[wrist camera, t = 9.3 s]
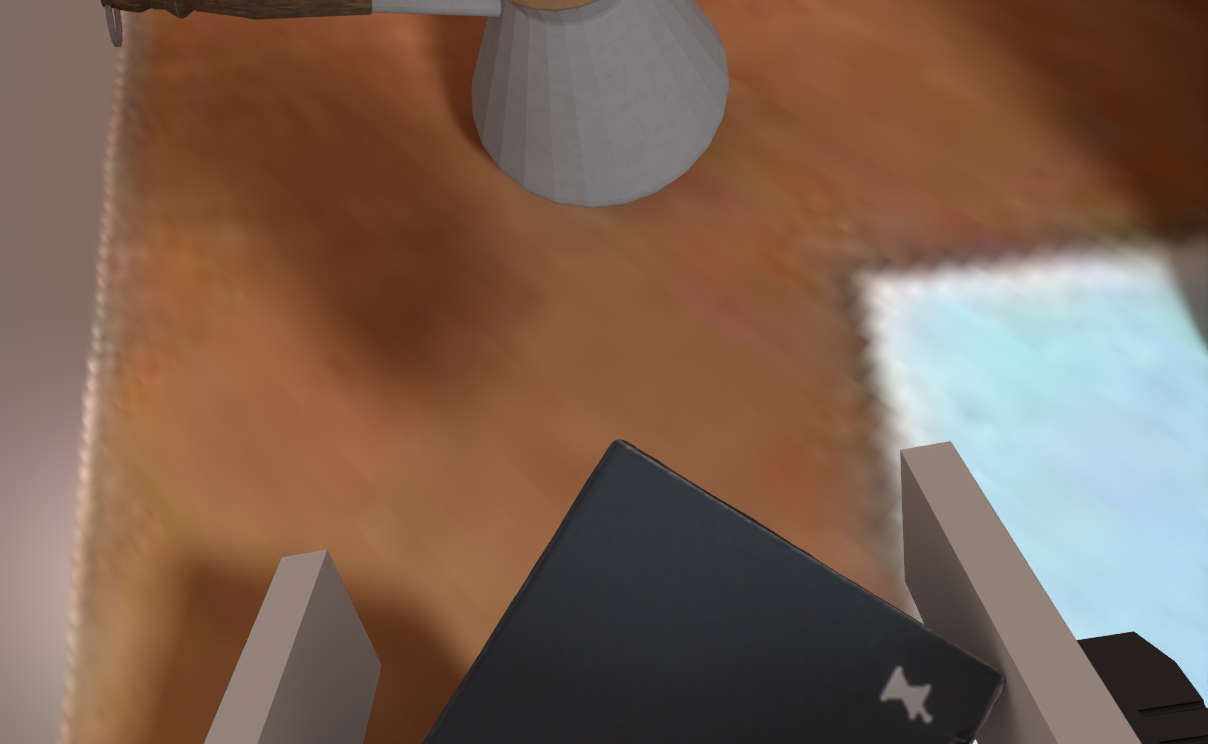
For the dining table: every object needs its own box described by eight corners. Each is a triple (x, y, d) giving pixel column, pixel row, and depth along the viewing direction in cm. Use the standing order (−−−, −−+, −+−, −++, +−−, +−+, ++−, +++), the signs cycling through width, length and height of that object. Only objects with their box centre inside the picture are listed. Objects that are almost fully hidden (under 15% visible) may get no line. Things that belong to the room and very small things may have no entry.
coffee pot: (698, -13, 43) (689, -319, 29) (754, 199, 40) (776, -22, 26) (280, 92, 45) (71, -147, 30) (305, 305, 42) (86, 152, 27)
